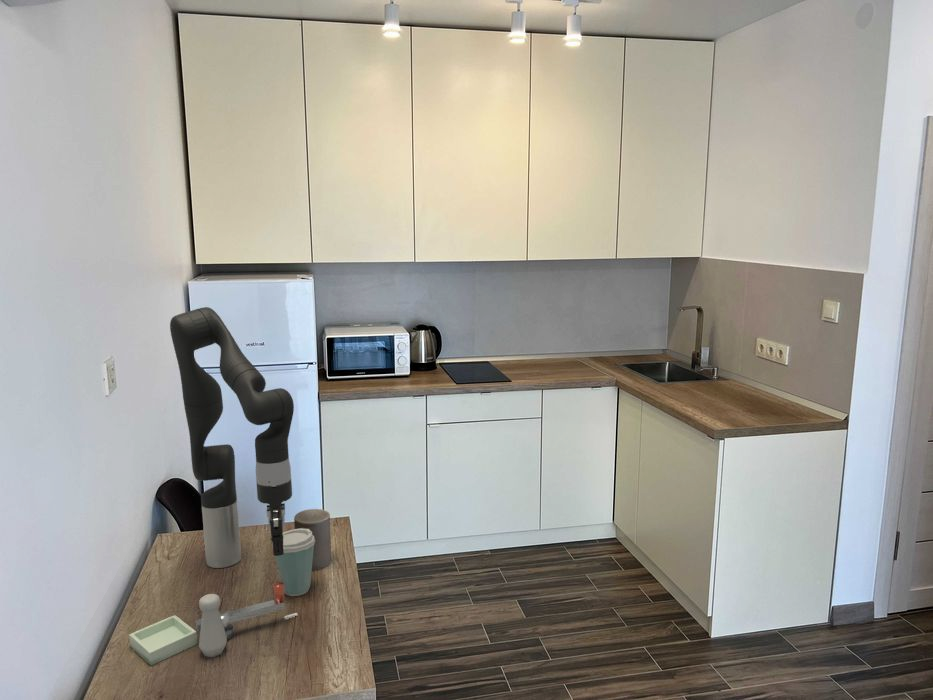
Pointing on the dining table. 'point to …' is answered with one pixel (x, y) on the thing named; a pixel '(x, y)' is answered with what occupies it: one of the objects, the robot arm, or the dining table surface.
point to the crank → (252, 609)
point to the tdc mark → (290, 616)
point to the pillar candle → (317, 534)
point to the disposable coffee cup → (296, 561)
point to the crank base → (230, 633)
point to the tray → (163, 639)
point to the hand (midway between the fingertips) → (278, 549)
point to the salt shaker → (211, 627)
